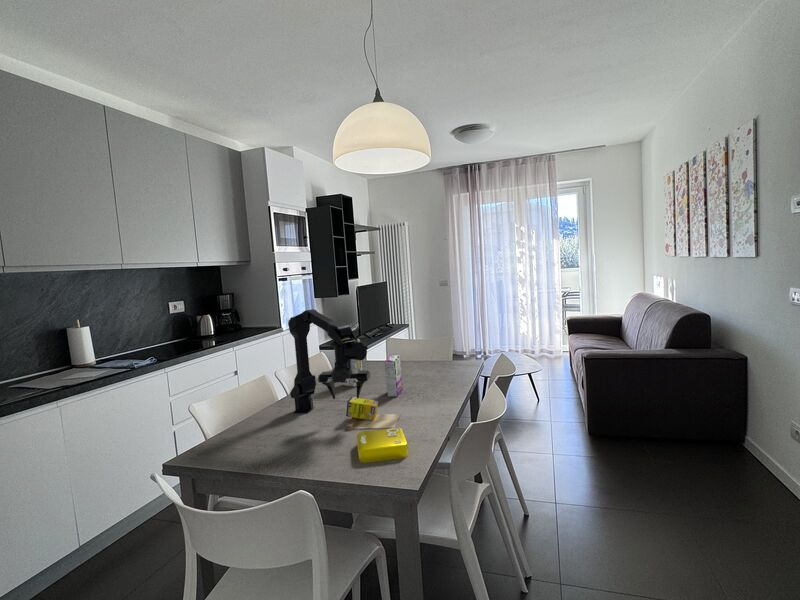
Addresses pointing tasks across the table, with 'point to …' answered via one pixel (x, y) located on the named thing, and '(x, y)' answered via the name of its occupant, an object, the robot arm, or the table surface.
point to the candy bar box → (393, 375)
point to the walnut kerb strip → (351, 423)
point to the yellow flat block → (381, 445)
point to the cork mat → (378, 422)
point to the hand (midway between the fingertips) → (346, 398)
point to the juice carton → (354, 371)
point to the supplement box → (362, 408)
